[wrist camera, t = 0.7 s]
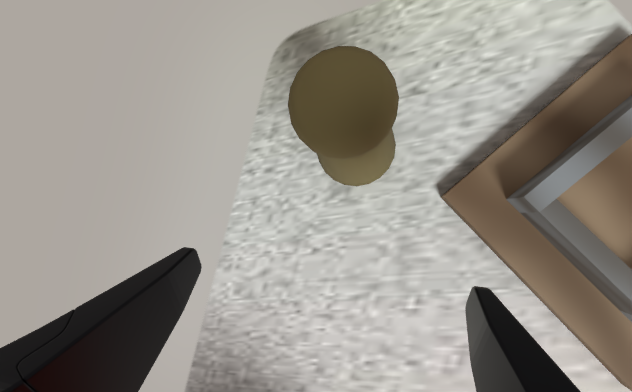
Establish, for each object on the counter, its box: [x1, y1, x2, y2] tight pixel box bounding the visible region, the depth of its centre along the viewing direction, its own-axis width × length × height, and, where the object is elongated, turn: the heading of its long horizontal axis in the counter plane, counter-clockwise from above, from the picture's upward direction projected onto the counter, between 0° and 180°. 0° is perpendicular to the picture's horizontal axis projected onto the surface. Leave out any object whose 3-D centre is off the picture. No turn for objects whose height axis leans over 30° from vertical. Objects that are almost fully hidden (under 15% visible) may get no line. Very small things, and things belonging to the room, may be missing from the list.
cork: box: [288, 46, 399, 186], centre depth 18 cm, size 6×6×11 cm
